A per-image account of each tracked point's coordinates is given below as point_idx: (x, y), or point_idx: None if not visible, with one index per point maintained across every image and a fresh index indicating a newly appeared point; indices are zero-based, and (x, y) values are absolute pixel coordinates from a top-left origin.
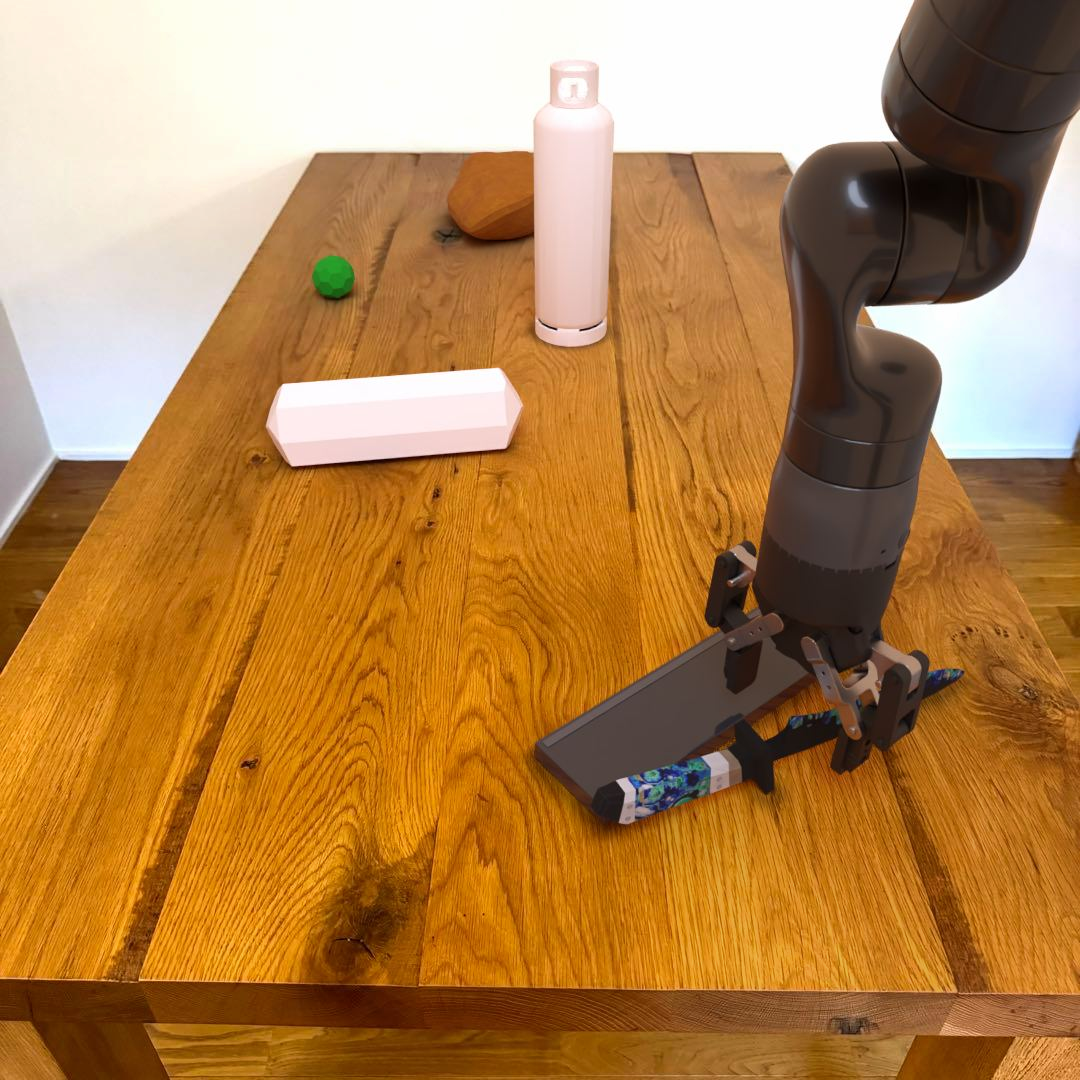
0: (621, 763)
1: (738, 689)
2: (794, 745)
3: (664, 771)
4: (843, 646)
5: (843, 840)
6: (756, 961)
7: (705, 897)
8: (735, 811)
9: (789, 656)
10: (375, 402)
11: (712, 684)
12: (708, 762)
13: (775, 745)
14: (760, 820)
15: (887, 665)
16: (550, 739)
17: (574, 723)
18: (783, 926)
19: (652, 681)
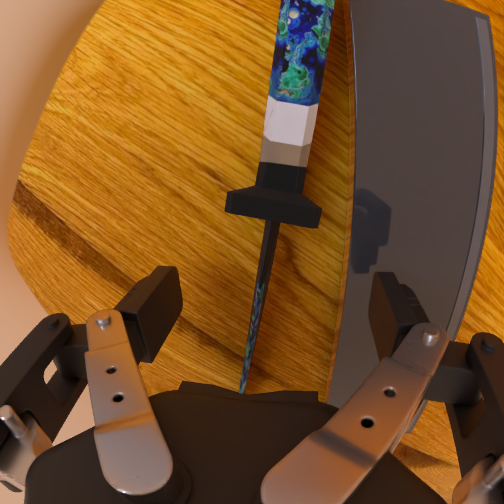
0: (404, 53)
1: (375, 282)
2: (258, 270)
3: (311, 14)
4: (66, 484)
5: (146, 214)
6: (100, 34)
7: (181, 25)
8: (253, 138)
9: (268, 395)
10: None
11: (417, 273)
12: (289, 107)
13: (264, 244)
14: (222, 154)
15: (6, 455)
16: (484, 28)
17: (490, 70)
18: (108, 79)
19: (477, 213)
